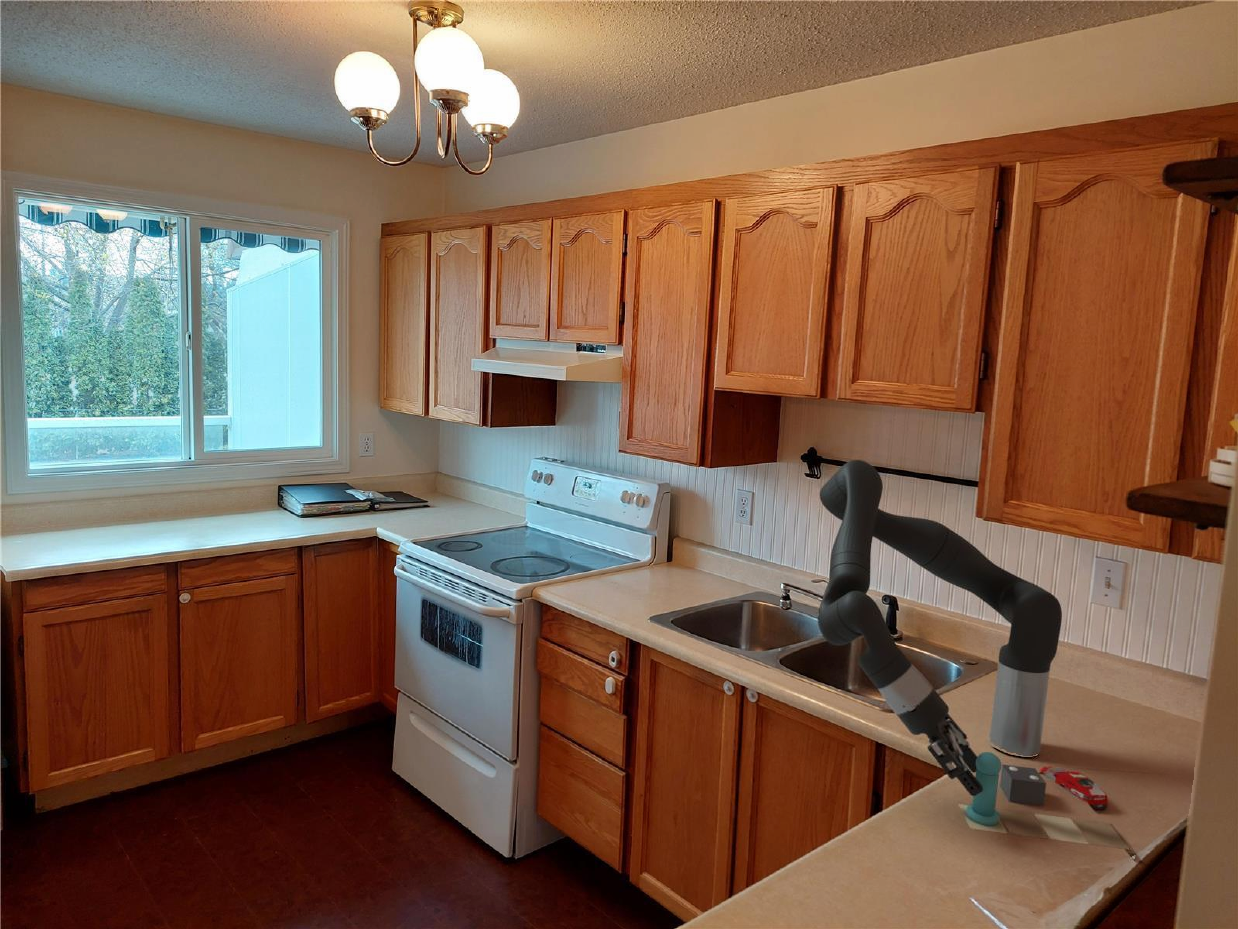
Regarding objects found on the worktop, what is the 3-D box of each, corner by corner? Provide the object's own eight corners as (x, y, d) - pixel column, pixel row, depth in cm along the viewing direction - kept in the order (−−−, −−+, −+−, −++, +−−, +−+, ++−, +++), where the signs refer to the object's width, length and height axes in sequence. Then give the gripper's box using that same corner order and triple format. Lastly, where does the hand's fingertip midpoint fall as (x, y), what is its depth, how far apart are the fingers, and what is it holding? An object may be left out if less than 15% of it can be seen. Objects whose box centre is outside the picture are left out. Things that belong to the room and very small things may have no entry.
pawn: (963, 808, 141) (970, 745, 140) (993, 812, 140) (1001, 748, 139) (970, 824, 136) (978, 758, 135) (1002, 828, 135) (1009, 761, 134)
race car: (1032, 777, 158) (1034, 757, 158) (1057, 776, 159) (1059, 755, 159) (1085, 814, 145) (1087, 792, 145) (1111, 812, 146) (1114, 790, 146)
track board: (952, 810, 143) (953, 801, 143) (1110, 830, 140) (1111, 822, 139) (965, 838, 134) (966, 829, 134) (1135, 861, 131) (1136, 852, 131)
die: (998, 794, 150) (1002, 763, 149) (1031, 798, 149) (1035, 767, 148) (1008, 809, 144) (1011, 778, 144) (1042, 814, 144) (1046, 782, 143)
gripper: (898, 695, 149) (960, 773, 146) (889, 726, 136) (957, 812, 133) (933, 672, 146) (998, 751, 143) (928, 702, 133) (998, 789, 130)
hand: (978, 781), depth 138 cm, fingers open, 8 cm apart
